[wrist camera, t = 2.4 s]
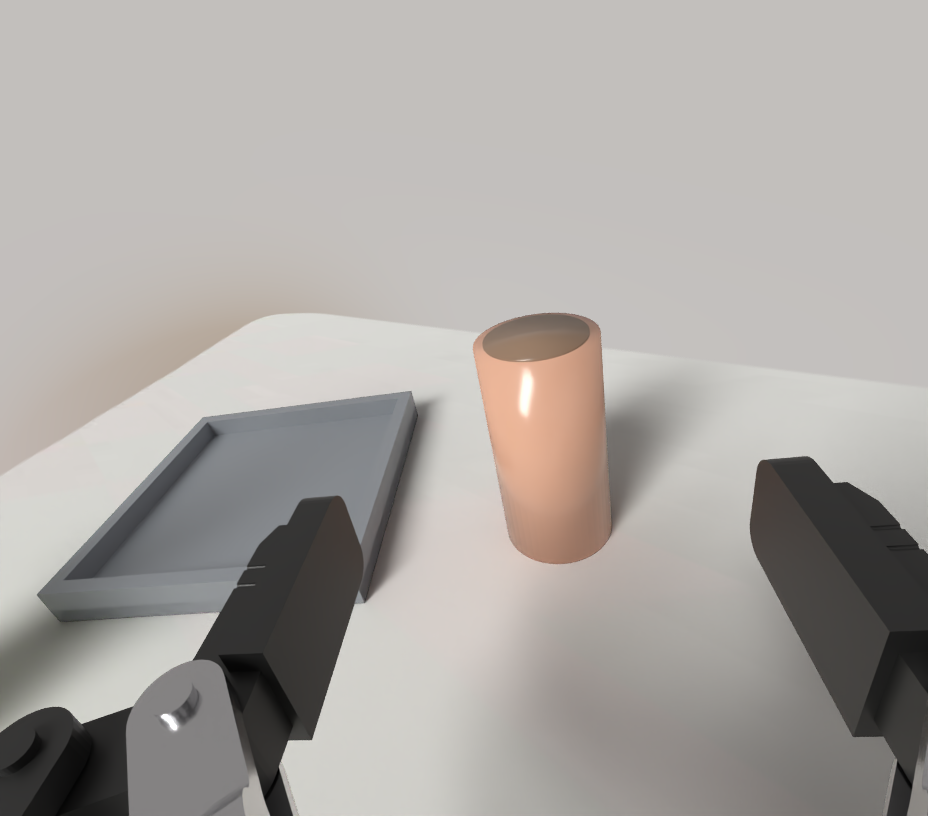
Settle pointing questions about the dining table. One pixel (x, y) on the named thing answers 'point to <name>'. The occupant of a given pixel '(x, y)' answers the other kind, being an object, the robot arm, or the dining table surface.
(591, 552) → the cup
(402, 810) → the dining table surface
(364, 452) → the tray
